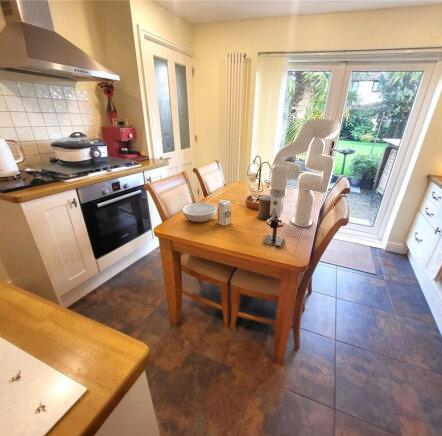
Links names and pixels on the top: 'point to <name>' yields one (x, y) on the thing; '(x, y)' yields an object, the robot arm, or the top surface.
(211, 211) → the serving bowl
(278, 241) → the post
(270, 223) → the ring
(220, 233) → the top surface
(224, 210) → the syrup box
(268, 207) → the pillar candle
